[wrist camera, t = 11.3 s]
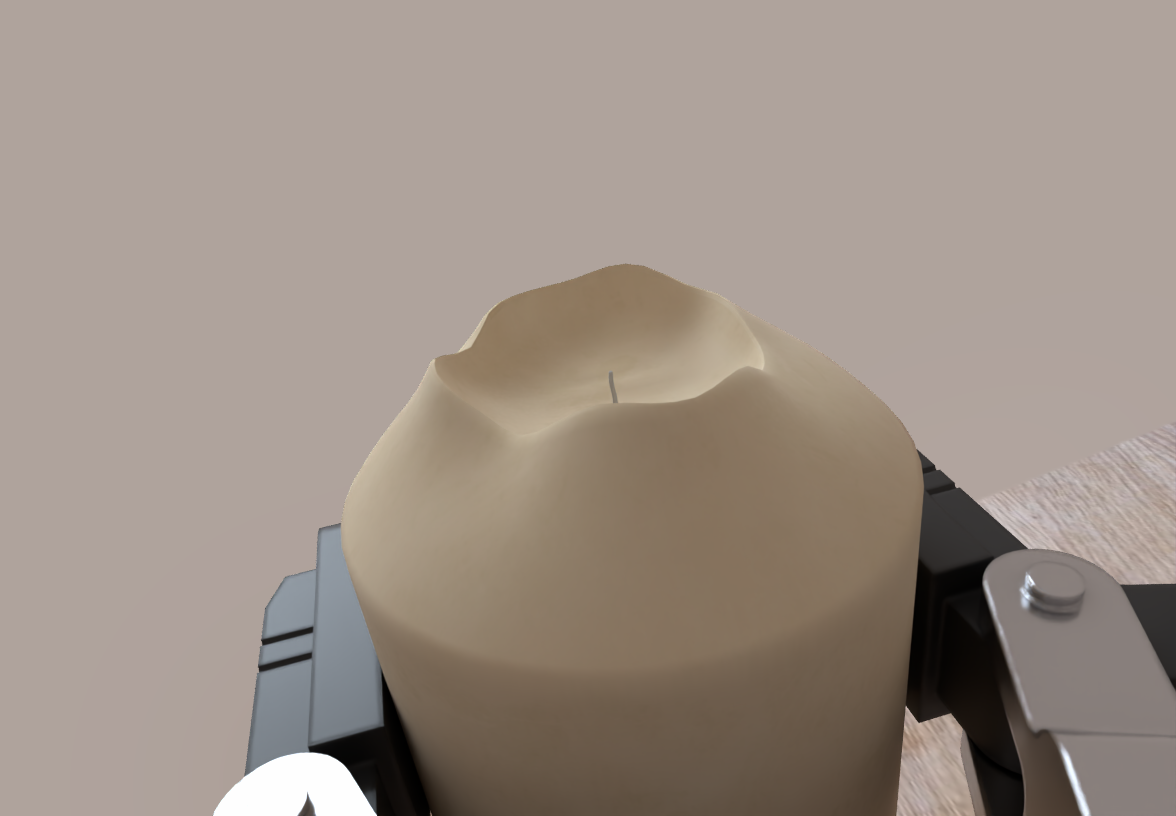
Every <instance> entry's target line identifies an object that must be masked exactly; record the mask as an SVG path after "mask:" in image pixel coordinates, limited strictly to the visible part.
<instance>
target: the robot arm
mask: <svg viewBox="0 0 1176 816" xmlns="http://www.w3.org/2000/svg"><path fill="white" fill-rule="evenodd" d="M917 452H918V455H919V458H920V460H921V465H922V473H923V482H924V493H923V506H922V518H921V530H920V542H919V554H918V566H917V578H916V589H915V601H914V613H913V625H912V636H911V648H910V660H909V671H908V683H907V695H906V706H907V708H908V709H909V710H910V712H911V713H912V714H913V716H914V717H915V719H916V720H917V721H918V723H920V722H924V721H927V720H930V719H933V718H937V717H940V716H943V715H946V714H950V713H951V714H952V715H953V716H954V718H955V719H956V720H957V721H958V723H959V724H960V725H961V727H962V728H963V731H962V738H961V747H960V749H961V757H962V761H963V765H964V770H965V774H966V778H967V782H968V787H969V791H970V795H971V800H972V804H973V808H974V812H975V816H1176V584H1145V585H1120V584H1119V583H1118V582H1117V581H1116V580H1115V579H1114V578H1113V577H1112V576H1111V575H1109V574H1108V573H1107V572H1106V571H1104V570H1103V569H1101V568H1100V567H1098V566H1096V565H1095V564H1093V563H1091V562H1089V561H1087V560H1085V559H1082V558H1080V557H1077V556H1074V555H1071V554H1067V553H1063V552H1060V551H1053V550H1046V549H1028V548H1027V547H1026V546H1024V545H1023V544H1022V543H1021V542H1020V541H1019V540H1018V539H1017V538H1016V537H1014V536H1013V535H1012V534H1011V533H1010V532H1009V531H1008V530H1007V529H1005V528H1004V527H1003V526H1002V525H1001V524H1000V523H999V522H998V521H997V520H995V519H994V518H993V517H992V516H991V515H990V514H989V513H988V512H986V511H985V510H984V509H983V508H982V507H981V506H980V505H979V504H978V503H976V502H975V501H974V500H973V499H972V498H971V497H970V496H969V495H967V494H966V493H965V492H964V491H963V490H962V489H961V488H956V487H955V483H954V482H953V481H952V480H951V479H950V478H948V477H947V476H946V475H945V474H944V473H943V472H942V471H941V470H936V468H935V465H934V464H933V463H932V462H931V461H929V460H928V459H927V458H926V457H925V456H924V455H923V454H921V452H919V451H918V450H917ZM261 641H262V646H261V647H260V655H259V664H258V668H259V673H257V680H256V688H255V696H254V704H253V713H252V720H251V729H250V737H249V745H248V753H247V761H246V769H245V776H244V778H243V779H242V780H241V781H240V782H239V783H237V784H236V785H235V786H234V787H233V788H232V789H231V790H230V791H229V792H228V794H227V795H226V796H225V797H224V799H223V800H222V801H221V803H220V804H219V806H218V807H217V809H216V811H215V812H214V814H213V816H431V814H430V808H429V805H428V802H427V799H426V796H425V793H424V790H423V787H422V785H421V782H420V779H419V776H418V773H417V770H416V767H415V764H414V761H413V758H412V756H411V753H410V750H409V747H408V744H407V741H406V738H405V735H404V732H403V729H402V726H401V724H400V721H399V718H398V715H397V712H396V709H395V706H394V703H393V700H392V697H391V694H390V692H389V689H388V686H387V683H386V680H385V677H384V674H383V671H382V668H381V665H380V662H379V660H378V657H377V654H376V651H375V648H374V645H373V642H372V639H371V636H370V633H369V630H368V627H367V625H366V622H365V619H364V616H363V613H362V610H361V607H360V604H359V601H358V598H357V595H356V592H355V589H354V586H353V583H352V580H351V577H350V574H349V571H348V568H347V564H346V561H345V557H344V554H343V550H342V543H341V523H339V524H335V525H331V526H327V527H323V528H320V529H319V531H318V542H317V563H316V569H314V570H311V571H307V572H302V573H299V574H295V575H291V576H287V577H285V578H284V580H283V581H282V583H281V584H280V586H279V588H278V589H277V591H276V592H275V594H274V595H273V597H272V598H271V600H270V602H269V603H268V605H267V606H266V608H265V614H264V622H263V631H262V639H261Z"/></svg>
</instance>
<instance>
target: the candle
mask: <svg viewBox="0 0 1176 816" xmlns="http://www.w3.org/2000/svg"><path fill="white" fill-rule="evenodd" d="M923 493H924V482H923V473H922V465H921V460H920V458H919V455H918V452H917V449H916V447H915V444H914V441H913V440H912V438H911V436H910V435H909V433H908V431H907V430H906V428H905V427H904V425H903V423H902V422H901V421H900V419H898V417H897V416H896V415H895V414H894V413H893V412H892V411H891V410H890V409H889V407H888V406H887V405H886V404H885V403H884V402H883V401H882V400H881V399H879V398H878V397H877V396H876V395H875V394H874V393H873V392H872V391H870V390H869V389H868V388H867V387H866V386H865V385H863V384H862V383H861V382H860V381H859V380H857V379H856V378H855V377H854V376H852V375H851V374H850V373H849V372H848V371H846V370H845V369H843V368H842V367H841V366H839V365H838V364H837V363H835V362H834V361H832V360H831V359H830V358H828V357H827V356H825V355H824V354H823V353H821V352H819V351H818V350H816V349H815V348H813V347H812V346H810V345H808V344H807V343H805V342H803V341H801V340H800V339H798V338H796V337H794V336H792V335H790V334H788V333H787V332H785V331H783V330H781V329H779V328H777V327H776V326H774V325H772V324H770V323H768V322H766V321H764V320H763V319H761V318H759V317H757V316H755V315H753V314H751V313H749V312H747V311H746V310H744V309H742V308H741V307H739V306H737V305H736V304H734V303H732V302H731V301H729V300H727V299H726V298H724V297H722V296H721V295H719V294H717V293H714V292H710V291H707V290H704V289H700V288H697V287H694V286H691V285H687V284H685V283H683V282H681V281H678V280H676V279H674V278H672V277H670V276H668V275H665V274H663V273H660V272H657V271H655V270H653V269H650V268H648V267H645V266H639V265H631V264H621V265H615V266H608V267H605V268H602V269H599V270H597V271H594V272H591V273H588V274H586V275H583V276H580V277H578V278H575V279H572V280H568V281H565V282H561V283H558V284H554V285H550V286H546V287H542V288H538V289H534V290H530V291H527V292H524V293H521V294H518V295H515V296H512V297H510V298H508V299H506V300H503V301H501V302H499V303H498V304H496V305H495V306H494V307H493V308H492V309H491V310H490V311H489V312H488V313H486V315H485V316H484V317H483V319H482V320H481V322H480V323H479V325H478V326H477V328H476V329H475V331H474V332H473V334H472V335H471V336H470V337H469V339H468V340H467V341H466V343H465V344H464V345H463V346H462V348H461V349H460V350H459V351H458V352H457V353H455V354H451V355H444V356H440V357H438V358H435V359H434V360H432V361H431V363H430V365H429V367H428V369H427V371H426V373H425V375H424V377H423V379H422V381H421V383H420V385H419V387H418V389H417V390H416V392H415V393H414V395H413V396H412V398H411V399H410V401H409V402H408V403H407V405H406V406H405V407H404V408H403V409H402V411H401V412H400V413H399V414H398V416H397V417H396V418H395V420H394V421H393V422H392V424H391V425H390V426H389V428H388V429H387V430H386V432H385V433H384V434H383V435H382V437H381V438H380V440H379V441H378V443H377V445H376V446H375V447H374V449H373V450H372V452H371V453H370V455H369V456H368V458H367V459H366V461H365V463H364V464H363V466H362V467H361V469H360V471H359V473H358V474H357V476H356V477H355V479H354V481H353V483H352V486H351V488H350V491H349V493H348V496H347V498H346V501H345V504H344V510H343V516H342V521H341V543H342V550H343V554H344V557H345V561H346V564H347V568H348V571H349V574H350V577H351V580H352V583H353V586H354V589H355V592H356V595H357V598H358V601H359V604H360V607H361V610H362V613H363V616H364V619H365V622H366V625H367V627H368V630H369V633H370V636H371V639H372V642H373V645H374V648H375V651H376V654H377V657H378V660H379V662H380V665H381V668H382V671H383V674H384V677H385V680H386V683H387V686H388V689H389V692H390V694H391V697H392V700H393V703H394V706H395V709H396V712H397V715H398V718H399V721H400V724H401V726H402V729H403V732H404V735H405V738H406V741H407V744H408V747H409V750H410V753H411V756H412V758H413V761H414V764H415V767H416V770H417V773H418V776H419V779H420V782H421V785H422V787H423V790H424V793H425V796H426V799H427V802H428V805H429V808H430V811H431V814H432V816H896V812H897V800H898V789H899V777H900V765H901V753H902V742H903V730H904V718H905V707H906V695H907V683H908V671H909V660H910V648H911V636H912V625H913V613H914V601H915V589H916V578H917V566H918V554H919V542H920V530H921V518H922V506H923Z"/></svg>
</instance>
